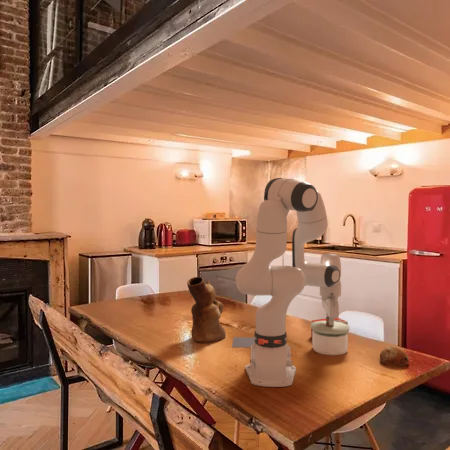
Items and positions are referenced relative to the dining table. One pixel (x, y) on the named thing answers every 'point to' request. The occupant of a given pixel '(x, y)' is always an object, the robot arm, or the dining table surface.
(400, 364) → the brown rounded lump
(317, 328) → the lid
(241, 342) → the mat
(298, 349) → the dining table surface
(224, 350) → the dining table surface
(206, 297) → the ceramic vessel
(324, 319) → the medicine box
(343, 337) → the bowl
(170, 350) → the dining table surface
